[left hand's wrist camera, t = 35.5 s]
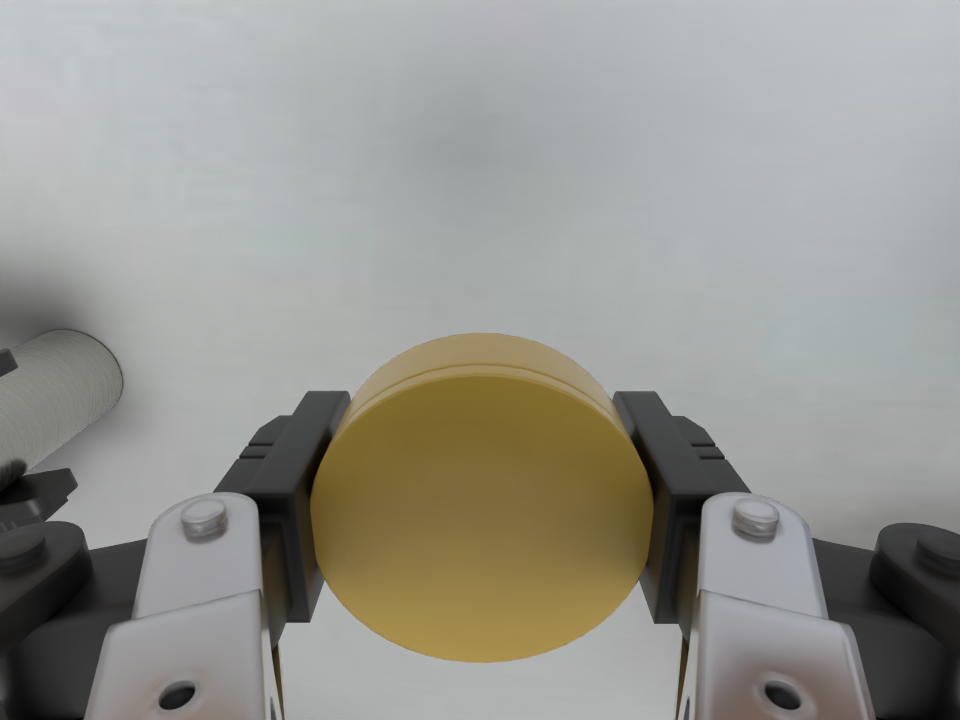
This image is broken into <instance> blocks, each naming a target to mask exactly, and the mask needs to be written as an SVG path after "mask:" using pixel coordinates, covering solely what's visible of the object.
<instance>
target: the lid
mask: <svg viewBox="0 0 960 720" xmlns="http://www.w3.org/2000/svg"><path fill="white" fill-rule="evenodd" d="M310 512H311V521H312V529H313V537H314V546H315V554H316V560H317V564H318V567H319V569H320V571H321V574H322V576H323V577H324V579H325V581H326V582H327V584H328V586H329V587H330V589H331V591H332V592H333V593H334V594H335V596H336V597H337V598H338V600H339V601H340V602H341V603H342V605H343V606H344V607H345V608H346V609H347V610H348V611H349V612H350V613H351V614H352V615H353V616H354V617H355V618H357V619H358V620H359V621H360V622H362V623H363V624H364V625H366V626H367V627H368V628H370V629H371V630H372V631H374V632H376V633H377V634H379V635H381V636H382V637H384V638H386V639H387V640H389V641H391V642H393V643H395V644H398V645H400V646H402V647H404V648H406V649H409V650H412V651H415V652H418V653H421V654H424V655H427V656H431V657H436V658H440V659H444V660H451V661H459V662H472V663H492V662H505V661H512V660H518V659H524V658H528V657H532V656H536V655H539V654H543V653H546V652H549V651H551V650H554V649H557V648H559V647H562V646H564V645H566V644H568V643H570V642H572V641H574V640H576V639H578V638H580V637H582V636H583V635H585V634H586V633H588V632H589V631H591V630H592V629H594V628H595V627H597V626H598V625H599V624H601V623H602V622H603V621H604V620H605V619H606V618H608V617H609V616H610V615H611V614H612V613H613V612H614V611H615V610H616V609H617V608H618V607H619V606H620V605H621V604H622V602H623V601H624V600H625V599H626V598H627V597H628V595H629V594H630V592H631V591H632V589H633V588H634V586H635V585H636V583H637V582H638V580H639V578H640V576H641V574H642V572H643V570H644V568H645V566H646V563H647V559H648V552H649V545H650V536H651V528H652V520H653V512H654V498H653V491H652V487H651V484H650V481H649V478H648V475H647V471H646V469H645V467H644V465H643V463H642V461H641V459H640V457H639V455H638V452H637V450H636V448H635V446H634V444H633V442H632V440H631V438H630V436H629V434H628V432H627V430H626V427H625V425H624V423H623V421H622V419H621V417H620V415H619V413H618V411H617V409H616V407H615V405H614V403H613V401H612V400H611V399H610V397H609V396H608V394H607V393H606V391H605V390H604V389H603V387H602V386H601V385H600V384H599V383H598V382H597V381H596V380H595V379H594V378H593V377H592V376H591V374H590V373H588V372H587V371H586V370H585V369H583V368H582V367H581V366H580V365H578V364H577V363H576V362H575V361H573V360H571V359H570V358H568V357H566V356H565V355H563V354H562V353H560V352H558V351H556V350H554V349H552V348H549V347H547V346H545V345H542V344H540V343H538V342H534V341H531V340H527V339H524V338H520V337H516V336H509V335H503V334H493V333H471V334H460V335H453V336H448V337H444V338H439V339H435V340H432V341H429V342H426V343H424V344H421V345H418V346H415V347H413V348H411V349H409V350H407V351H406V352H404V353H402V354H400V355H398V356H396V357H395V358H393V359H392V360H390V361H389V362H388V363H386V364H385V365H383V366H382V367H381V368H379V369H378V370H377V371H376V372H375V373H374V374H373V375H372V376H371V377H370V378H369V379H367V381H366V382H365V383H364V384H363V385H362V387H361V388H360V389H359V390H358V392H357V393H356V394H355V396H354V397H353V399H352V401H351V402H350V404H349V406H348V407H347V409H346V411H345V413H344V415H343V417H342V419H341V421H340V423H339V425H338V428H337V430H336V432H335V434H334V436H333V438H332V440H331V442H330V444H329V446H328V449H327V451H326V453H325V455H324V457H323V459H322V461H321V464H320V466H319V469H318V471H317V473H316V476H315V478H314V481H313V486H312V490H311V494H310Z"/></svg>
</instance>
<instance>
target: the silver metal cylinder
mask: <svg viewBox="0 0 960 720" xmlns="http://www.w3.org/2000/svg"><path fill="white" fill-rule="evenodd" d="M10 351H11V353H12V355H13V357H14V359H15V361H16V363H17V365H18V368H17V369H15V370H13V371H11V372H9V373H7V374H5V375H4V376H2V377H0V492H1V491H2V490H4V489H5V488H6V487H8V486H9V485H10V484H12V483H13V482H14V481H16V480H17V479H18V478H20V477H21V476H22V475H24V474H25V473H26V472H28V471H29V470H30V469H32V468H33V467H34V466H36V465H37V464H38V463H40V462H41V461H42V460H43V459H45V458H46V457H47V456H49V455H50V454H51V453H53V452H54V451H55V450H57V449H58V448H59V447H61V446H62V445H63V444H65V443H66V442H67V441H69V440H70V439H71V438H73V437H74V436H75V435H77V434H78V433H79V432H81V431H82V430H83V429H85V428H86V427H87V426H89V425H90V424H91V423H93V422H94V421H95V420H96V419H98V418H99V417H100V416H102V415H103V414H104V413H106V412H107V411H108V410H110V409H111V408H112V407H113V406H114V405H115V404H116V403H117V401H118V399H119V397H120V394H121V391H122V375H121V371H120V368H119V366H118V364H117V362H116V360H115V358H114V357H113V356H112V354H111V353H110V352H109V351H108V350H107V349H106V348H105V347H104V346H103V345H102V344H101V343H99V342H98V341H97V340H95V339H93V338H92V337H90V336H88V335H85V334H83V333H80V332H76V331H72V330H54V331H50V332H46V333H44V334H42V335H40V336H38V337H36V338H34V339H32V340H29V341H27V342H25V343H23V344H21V345H19V346H17V347H15V348H12V349H10Z"/></svg>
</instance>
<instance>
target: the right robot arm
mask: <svg viewBox="0 0 960 720" xmlns="http://www.w3.org/2000/svg"><path fill="white" fill-rule="evenodd" d="M17 368H18V365H17V363H16V361H15V359H14V357H13V355H12V353H11V351H10V349H3V350H0V377H2V376H4V375H5V374H7V373H9V372H11V371H13V370H15V369H17ZM77 486H78V484H77V482H76V480H75V478H74V476H73V474H72V472H71V470H70V469H69V468H65V469H59V470H53V471H48V472H42V473H36V474H31V475H25V476H21V477H20V478H18V479H17V480H16V481H14V482H13V483H12V484H10V485H9V486H8V487H6V488H5V489H4V490H2V491H1V492H0V534H2V533H4V532H7V531H10V530H13V529H16V528H18V527H22V526H26V525H30V524H35V523H40V522H45V521H46V520H47V519H48V518H49V517H50V516H52V515H53V514H54V513H55V512H56V511H57V510H58V509H59V508H60V507H62V506H63V505H64V504H65V503H66V502H67V501H68V499H67V496H68V495H69V494H70V493H71V492H72V491H73V490H74V489H76V488H77Z"/></svg>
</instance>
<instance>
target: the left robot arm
mask: <svg viewBox="0 0 960 720" xmlns="http://www.w3.org/2000/svg"><path fill="white" fill-rule="evenodd" d="M350 402H351V400H350V395H349V393H348V392H347V391H308V392H307V393H306V395H305V396H304V398H303V399H302V401H301V402H300V404H299V405H298V407H297V408H296V410H295V412H294V413H293V415H292V416H278V417H277V418H275V419H274V420H272V421H270V422H269V423H267V424H266V425H264V426H262V427H261V428H259V430H258V431H257V432H256V434H255V435H254V436H253V438H252V439H251V441H250V442H249V445H248V446H246V447H245V449H244V450H243V452H242V453H241V454H240V456H239V459H237V460H236V461H235V463H234V464H233V465H232V467H231V468H230V469H229V471H228V472H227V473H226V475H225V476H224V478H223V479H222V480H221V482H220V483H219V484H218V486H217V487H216V489H215V490H214V491H213V493H209V494H204V495H199V496H196V497H193V498H189V499H187V500H185V501H182V502H180V503H178V504H176V505H174V506H172V507H171V508H169V509H167V510H166V511H165V512H163V513H162V514H161V515H160V516H159V517H158V518H157V519H156V520H155V521H154V523H153V524H152V526H151V528H150V531H149V535H148V538H147V539H143V540H139V541H134V542H129V543H124V544H119V545H114V546H109V547H104V548H99V549H94V550H88V546H87V543H86V539H85V536H84V533H83V531H82V529H81V528H80V527H79V526H77V525H75V524H73V523H69V522H62V521H48V522H40V523H35V524H30V525H26V526H22V527H18V528H16V529H13V530H10V531H7V532H4V533H2V534H0V720H287V718H286V707H285V696H284V684H283V673H282V662H281V653H280V647H279V639H280V637H281V634H282V631H283V629H284V626H285V624H286V623H310V621H311V618H312V615H313V612H314V609H315V606H316V603H317V600H318V597H319V595H320V592H321V589H322V586H323V583H324V580H325V579H324V577H323V576H322V574H321V571H320V569H319V567H318V564H317V560H316V554H315V546H314V537H313V529H312V521H311V512H310V494H311V490H312V486H313V481H314V478H315V476H316V473H317V471H318V469H319V466H320V464H321V461H322V459H323V457H324V455H325V453H326V451H327V449H328V446H329V444H330V442H331V440H332V438H333V436H334V434H335V432H336V430H337V428H338V425H339V423H340V421H341V419H342V417H343V415H344V413H345V411H346V409H347V407H348V406H349V404H350ZM613 403H614V405H615V407H616V409H617V411H618V413H619V415H620V417H621V419H622V421H623V423H624V425H625V427H626V430H627V432H628V434H629V436H630V438H631V440H632V442H633V444H634V446H635V448H636V450H637V452H638V455H639V457H640V459H641V461H642V463H643V465H644V467H645V469H646V471H647V475H648V478H649V481H650V484H651V487H652V491H653V498H654V512H653V520H652V528H651V536H650V545H649V552H648V559H647V563H646V566H645V568H644V570H643V572H642V574H641V576H640V578H639V581H640V584H641V587H642V590H643V593H644V596H645V598H646V601H647V604H648V607H649V610H650V613H651V616H652V618H653V621H654V624H679V626H680V628H681V631H682V633H683V634H682V641H681V647H680V653H679V662H678V673H677V684H676V696H675V707H674V718H673V720H960V535H959V534H956V533H954V532H951V531H948V530H945V529H942V528H938V527H934V526H930V525H924V524H917V523H896V524H892V525H889V526H887V527H885V528H883V529H882V530H881V531H880V533H879V535H878V539H877V542H876V546H875V549H874V551H871V550H866V549H861V548H856V547H851V546H846V545H841V544H836V543H831V542H826V541H822V540H818V539H815V538H812V535H811V531H810V528H809V526H808V524H807V523H806V521H805V520H804V519H803V518H802V517H801V516H800V515H799V514H798V513H797V512H795V511H794V510H793V509H791V508H789V507H788V506H786V505H784V504H782V503H780V502H778V501H775V500H773V499H771V498H767V497H764V496H761V495H756V494H752V493H751V491H750V490H749V489H748V487H747V486H746V485H745V483H744V482H743V481H742V479H741V478H740V477H739V475H738V474H737V473H736V471H735V470H734V468H733V467H732V466H731V464H730V463H729V462H728V460H725V456H724V455H723V454H722V452H721V451H720V450H719V448H718V447H715V443H714V441H713V440H712V439H711V437H710V436H709V435H708V433H707V432H706V431H705V429H704V428H702V427H700V426H699V425H697V424H696V423H694V422H692V421H691V420H689V419H688V418H686V417H684V416H671V414H670V413H669V411H668V410H667V408H666V406H665V405H664V403H663V402H662V400H661V399H660V397H659V396H658V394H657V393H656V392H655V391H616V392H615V394H614V396H613Z"/></svg>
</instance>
